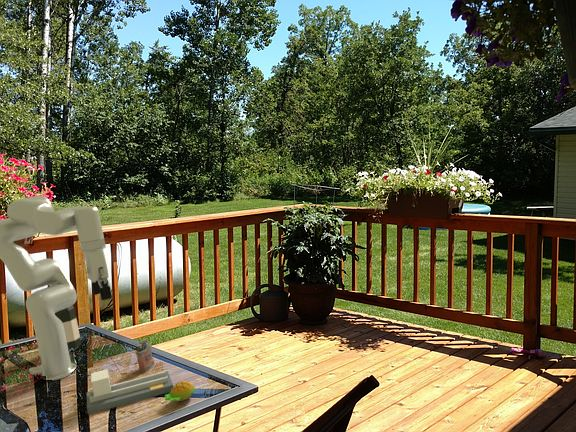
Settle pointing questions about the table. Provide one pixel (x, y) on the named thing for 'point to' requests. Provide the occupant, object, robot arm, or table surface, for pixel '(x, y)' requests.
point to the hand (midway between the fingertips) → (102, 296)
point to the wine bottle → (70, 326)
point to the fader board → (130, 392)
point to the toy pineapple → (180, 391)
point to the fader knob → (100, 383)
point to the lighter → (144, 356)
